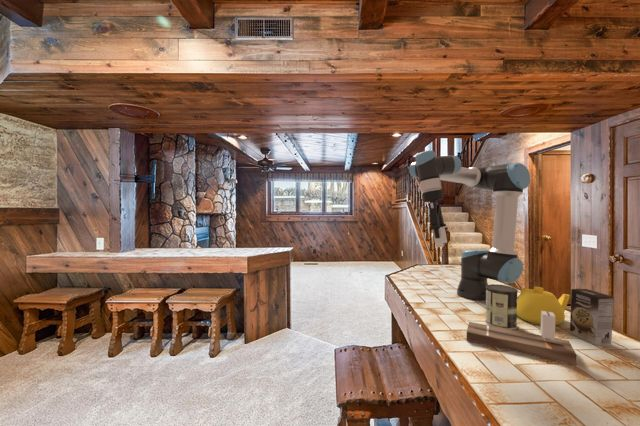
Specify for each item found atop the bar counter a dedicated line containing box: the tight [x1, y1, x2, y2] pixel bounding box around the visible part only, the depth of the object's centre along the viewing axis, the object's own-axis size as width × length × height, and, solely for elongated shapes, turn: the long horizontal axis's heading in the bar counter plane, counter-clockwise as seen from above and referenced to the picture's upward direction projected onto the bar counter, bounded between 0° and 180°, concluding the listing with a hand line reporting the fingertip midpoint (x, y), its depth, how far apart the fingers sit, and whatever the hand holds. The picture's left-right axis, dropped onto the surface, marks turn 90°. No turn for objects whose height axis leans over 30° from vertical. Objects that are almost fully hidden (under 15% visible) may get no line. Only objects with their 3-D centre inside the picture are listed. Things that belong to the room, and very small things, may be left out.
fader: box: [540, 311, 556, 342], centre depth 90 cm, size 4×3×9 cm
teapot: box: [517, 286, 571, 326], centre depth 118 cm, size 20×19×13 cm
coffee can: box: [485, 284, 519, 330], centre depth 111 cm, size 10×10×14 cm
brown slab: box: [466, 321, 577, 366], centre depth 94 cm, size 10×28×3 cm, turn 59°
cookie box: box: [569, 288, 615, 346], centre depth 99 cm, size 9×6×16 cm
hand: (441, 245), depth 112 cm, fingers open, 13 cm apart
